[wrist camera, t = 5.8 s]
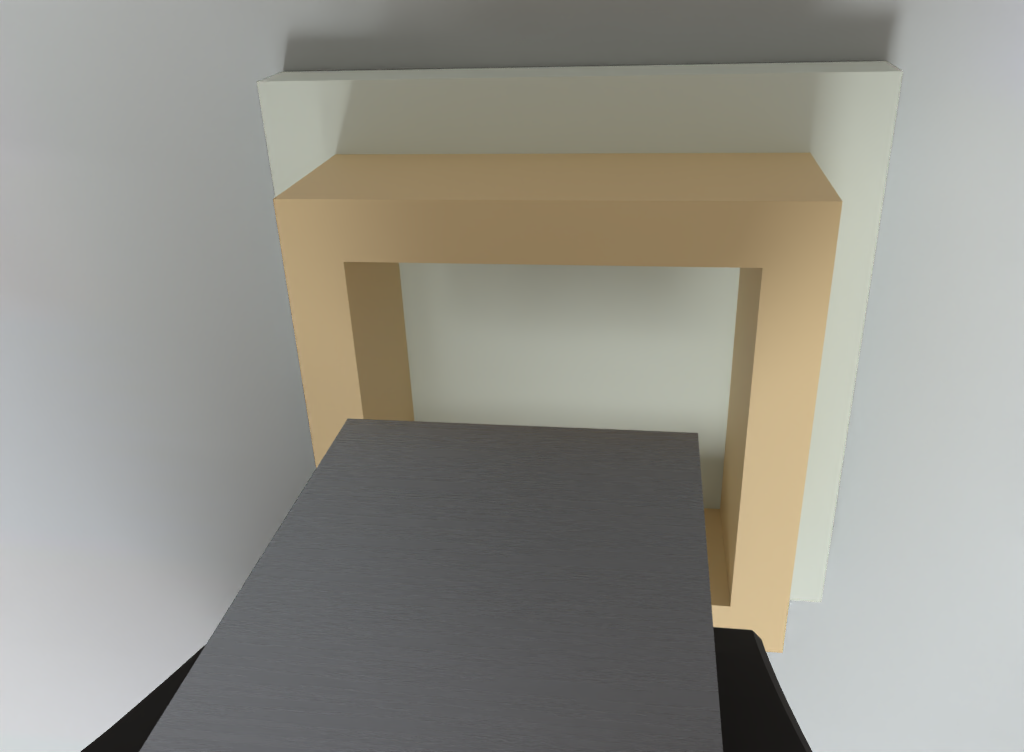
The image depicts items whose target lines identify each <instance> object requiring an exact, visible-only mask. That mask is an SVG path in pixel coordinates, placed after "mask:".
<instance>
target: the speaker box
mask: <svg viewBox="0 0 1024 752" xmlns="http://www.w3.org/2000/svg"><path fill="white" fill-rule="evenodd" d="M139 752H723V744H722V731H721V719H720V706H719V694H718V681H717V668H716V656H715V643H714V630H713V618H712V605H711V592H710V580H709V567H708V554H707V542H706V529H705V517H704V504H703V491H702V479H701V466H700V453H699V441H698V433H689V432H665V431H641V430H616V429H592V428H568V427H543V426H519V425H495V424H470V423H446V422H422V421H397V420H373V419H347V420H346V422H345V424H344V425H343V427H342V428H341V430H340V432H339V433H338V435H337V436H336V438H335V440H334V441H333V443H332V444H331V446H330V447H329V449H328V451H327V452H326V454H325V455H324V457H323V459H322V460H321V462H320V463H319V465H318V467H317V468H316V470H315V471H314V473H313V475H312V476H311V478H310V479H309V481H308V483H307V484H306V486H305V487H304V489H303V491H302V492H301V494H300V495H299V497H298V499H297V500H296V502H295V503H294V505H293V507H292V508H291V510H290V511H289V513H288V515H287V516H286V518H285V519H284V521H283V523H282V524H281V526H280V527H279V529H278V531H277V532H276V534H275V535H274V537H273V539H272V540H271V542H270V543H269V545H268V547H267V548H266V550H265V551H264V553H263V555H262V556H261V558H260V559H259V561H258V563H257V564H256V566H255V567H254V569H253V571H252V572H251V574H250V575H249V577H248V579H247V580H246V582H245V583H244V585H243V587H242V588H241V590H240V591H239V593H238V594H237V596H236V598H235V599H234V601H233V602H232V604H231V606H230V607H229V609H228V610H227V612H226V614H225V615H224V617H223V618H222V620H221V622H220V623H219V625H218V626H217V628H216V630H215V631H214V633H213V634H212V636H211V638H210V639H209V641H208V642H207V644H206V646H205V647H204V649H203V650H202V652H201V654H200V655H199V657H198V658H197V660H196V662H195V663H194V665H193V666H192V668H191V670H190V671H189V673H188V674H187V676H186V678H185V679H184V681H183V682H182V684H181V686H180V687H179V689H178V690H177V692H176V694H175V695H174V697H173V698H172V700H171V702H170V703H169V705H168V706H167V708H166V710H165V711H164V713H163V714H162V716H161V718H160V719H159V721H158V722H157V724H156V726H155V727H154V729H153V730H152V732H151V734H150V735H149V737H148V738H147V740H146V741H145V743H144V745H143V746H142V748H141V749H140V751H139Z"/></svg>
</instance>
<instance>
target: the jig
mask: <svg viewBox="0 0 1024 752" xmlns="http://www.w3.org/2000/svg"><path fill="white" fill-rule="evenodd" d="M902 75H903V71H902V70H900V69H899V68H897V67H895V66H894V65H892V64H890V63H889V62H887V61H857V62H801V63H745V64H689V65H633V66H577V67H521V68H465V69H410V70H354V71H298V72H280V73H277V74H275V75H272V76H270V77H267V78H265V79H262V80H260V81H257V87H258V93H259V100H260V106H261V112H262V119H263V125H264V131H265V137H266V144H267V150H268V156H269V163H270V169H271V175H272V181H273V188H274V194H275V198H274V199H273V202H274V208H275V215H276V221H277V227H278V233H279V240H280V246H281V252H282V258H283V265H284V271H285V277H286V283H287V289H288V296H289V302H290V308H291V314H292V321H293V327H294V333H295V339H296V346H297V352H298V358H299V364H300V371H301V377H302V383H303V389H304V396H305V402H306V408H307V414H308V420H309V427H310V433H311V439H312V445H313V452H314V458H315V464H316V468H317V467H318V465H319V463H320V462H321V460H322V459H323V457H324V455H325V454H326V452H327V451H328V449H329V447H330V446H331V444H332V443H333V441H334V440H335V438H336V436H337V435H338V433H339V432H340V430H341V428H342V427H343V425H344V424H345V422H346V420H347V419H373V420H397V421H422V422H446V423H470V424H495V425H519V426H543V427H568V428H592V429H616V430H641V431H665V432H689V433H698V441H699V453H700V466H701V479H702V491H703V504H704V517H705V529H706V542H707V554H708V567H709V580H710V592H711V605H712V618H713V627H719V628H732V629H746V630H753V631H754V632H755V633H756V634H757V635H758V636H759V637H760V638H761V639H762V642H763V645H764V648H765V651H766V652H778V653H782V652H783V645H784V637H785V630H786V622H787V615H788V607H789V600H793V601H808V602H821V601H822V594H823V588H824V582H825V575H826V569H827V562H828V556H829V549H830V543H831V536H832V530H833V523H834V517H835V510H836V504H837V497H838V491H839V484H840V478H841V471H842V465H843V458H844V452H845V445H846V439H847V432H848V426H849V419H850V413H851V406H852V400H853V393H854V387H855V380H856V374H857V367H858V361H859V354H860V348H861V341H862V335H863V328H864V322H865V316H866V309H867V303H868V296H869V290H870V283H871V277H872V270H873V264H874V257H875V251H876V244H877V238H878V231H879V225H880V218H881V212H882V205H883V199H884V192H885V186H886V179H887V173H888V166H889V160H890V153H891V147H892V140H893V134H894V127H895V121H896V114H897V108H898V101H899V95H900V88H901V82H902Z"/></svg>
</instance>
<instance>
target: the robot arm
mask: <svg viewBox="0 0 1024 752" xmlns="http://www.w3.org/2000/svg"><path fill="white" fill-rule="evenodd" d="M713 630H714V643H715V656H716V668H717V681H718V694H719V706H720V719H721V731H722V744H723V752H812V750H811V748H810V746H809V744H808V743H807V741H806V739H805V737H804V735H803V733H802V731H801V729H800V727H799V725H798V723H797V721H796V719H795V716H794V714H793V712H792V710H791V708H790V706H789V704H788V702H787V700H786V698H785V696H784V693H783V691H782V689H781V687H780V685H779V682H778V680H777V678H776V675H775V673H774V671H773V668H772V666H771V663H770V661H769V658H768V656H767V653H766V651H765V648H764V645H763V642H762V639H761V638H760V637H759V636H758V635H757V634H756V633H755V632H754V631H753V630H746V629H732V628H719V627H713ZM205 646H206V645H205ZM205 646H203V647H202V648H201V649H200V650H199V651H198V652H197V653H196V654H195V655H193V656H192V657H191V658H190V659H189V660H188V661H187V662H186V663H184V664H183V665H182V666H181V667H180V668H179V669H178V670H177V671H175V672H174V673H173V674H172V675H171V676H170V677H169V678H168V679H166V680H165V681H164V682H163V683H162V684H161V685H160V686H158V687H157V688H156V689H155V690H154V691H153V692H151V693H150V694H149V695H148V696H147V697H146V698H144V699H143V700H142V701H141V702H140V703H139V704H137V705H136V706H135V707H134V708H133V709H132V710H131V711H129V712H128V713H127V714H126V715H125V716H124V717H122V718H121V719H120V720H119V721H118V722H117V723H115V724H114V725H113V726H112V727H111V728H110V729H108V730H107V731H106V732H105V733H103V734H102V735H101V736H100V737H98V738H97V739H96V740H95V741H93V742H92V743H91V744H90V745H88V746H87V747H86V748H85V749H83V750H82V751H81V752H139V751H140V749H141V748H142V746H143V745H144V743H145V741H146V740H147V738H148V737H149V735H150V734H151V732H152V730H153V729H154V727H155V726H156V724H157V722H158V721H159V719H160V718H161V716H162V714H163V713H164V711H165V710H166V708H167V706H168V705H169V703H170V702H171V700H172V698H173V697H174V695H175V694H176V692H177V690H178V689H179V687H180V686H181V684H182V682H183V681H184V679H185V678H186V676H187V674H188V673H189V671H190V670H191V668H192V666H193V665H194V663H195V662H196V660H197V658H198V657H199V655H200V654H201V652H202V650H203V649H204V647H205Z"/></svg>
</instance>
